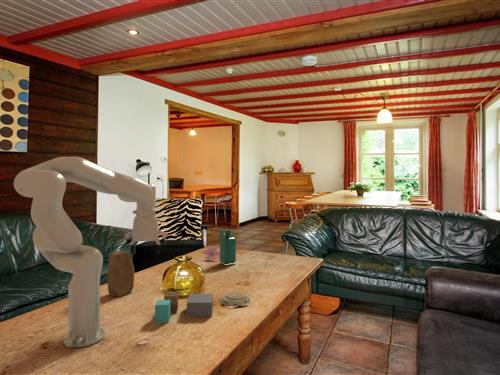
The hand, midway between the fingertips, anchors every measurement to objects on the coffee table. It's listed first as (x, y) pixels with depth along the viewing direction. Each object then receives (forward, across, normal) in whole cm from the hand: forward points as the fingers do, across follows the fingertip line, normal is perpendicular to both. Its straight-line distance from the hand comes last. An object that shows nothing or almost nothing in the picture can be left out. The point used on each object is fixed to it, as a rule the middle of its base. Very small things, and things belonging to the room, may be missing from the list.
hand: (145, 254), depth 138 cm
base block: (+23, +23, -6) cm, 33 cm away
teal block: (+23, +9, -12) cm, 28 cm away
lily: (+22, +30, +77) cm, 86 cm away
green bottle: (+22, +40, +66) cm, 80 cm away
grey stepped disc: (+23, +38, +3) cm, 45 cm away
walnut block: (+23, +11, -4) cm, 26 cm away
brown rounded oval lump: (+23, -14, +19) cm, 33 cm away
